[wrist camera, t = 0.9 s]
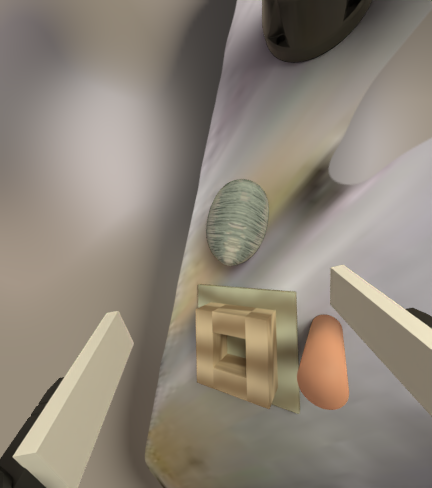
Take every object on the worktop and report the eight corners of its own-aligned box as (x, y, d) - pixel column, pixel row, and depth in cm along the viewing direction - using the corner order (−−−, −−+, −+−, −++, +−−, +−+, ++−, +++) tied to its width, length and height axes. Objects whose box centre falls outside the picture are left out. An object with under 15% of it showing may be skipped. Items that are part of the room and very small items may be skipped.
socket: (200, 284, 41) (181, 289, 36) (296, 291, 32) (288, 300, 27) (202, 375, 40) (183, 394, 35) (300, 409, 31) (293, 441, 26)
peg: (310, 312, 31) (296, 355, 19) (342, 316, 29) (347, 367, 17) (311, 339, 31) (297, 400, 19) (343, 345, 29) (349, 417, 17)
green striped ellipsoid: (220, 171, 35) (212, 174, 26) (274, 183, 35) (286, 191, 26) (205, 243, 40) (194, 266, 31) (253, 254, 40) (256, 281, 31)
